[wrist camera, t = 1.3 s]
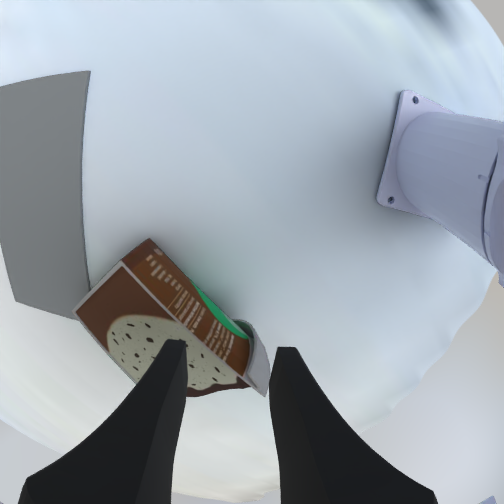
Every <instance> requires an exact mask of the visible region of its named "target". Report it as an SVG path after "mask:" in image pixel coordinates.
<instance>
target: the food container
mask: <svg viewBox="0 0 504 504" xmlns="http://www.w3.org/2000/svg"><path fill="white" fill-rule="evenodd" d="M72 312H73V314H74V315H75V316H76V318H77V319H78V320H79V321H80V323H81V324H82V325H83V326H84V328H85V329H86V330H87V331H88V332H89V334H90V335H91V336H92V337H93V338H94V340H95V341H96V342H97V343H98V344H99V345H100V347H101V348H102V349H103V350H104V351H105V352H106V353H107V354H108V356H109V357H110V358H111V359H112V360H113V361H114V362H115V363H116V364H117V365H118V366H119V367H120V368H121V369H122V370H123V372H124V373H125V374H126V375H127V376H128V377H129V378H130V379H131V380H132V381H133V382H134V383H135V384H137V383H138V382H139V380H140V379H141V378H142V376H143V375H144V373H145V372H146V371H147V369H148V368H149V366H150V365H151V363H152V362H153V360H154V359H155V357H156V356H157V354H158V353H159V351H160V349H161V348H162V346H163V344H164V342H165V341H166V340H167V339H174V340H184V341H186V352H187V368H188V385H187V394H186V397H199V396H203V395H207V394H210V393H214V392H217V391H222V390H228V389H238V388H240V389H244V388H247V387H252V388H253V389H255V390H256V391H257V392H259V393H260V394H261V395H262V396H264V397H265V396H266V393H267V390H268V386H269V380H270V364H269V360H268V357H267V353H266V350H265V347H264V345H263V344H262V342H261V340H260V338H259V336H258V335H257V333H256V331H255V329H254V328H253V326H252V325H251V324H250V323H248V322H247V321H244V320H240V319H232V320H231V319H230V318H229V317H228V316H227V315H226V314H225V313H224V312H222V311H221V310H220V309H219V308H218V307H217V306H216V305H215V304H214V303H213V302H212V301H211V300H210V299H209V298H208V297H207V296H206V295H205V294H204V293H203V292H202V291H201V290H200V289H199V288H198V287H197V286H196V285H195V284H194V283H193V282H192V281H191V280H190V279H189V278H188V277H187V276H186V275H185V274H184V273H183V272H182V271H181V270H180V269H179V268H178V267H177V266H176V265H175V264H174V263H173V262H172V261H171V260H170V259H169V258H168V257H167V256H166V255H165V254H164V253H163V252H162V250H161V249H160V248H159V247H158V246H157V245H156V244H155V243H154V242H153V241H152V240H151V239H150V238H149V239H147V240H145V241H144V242H143V243H141V244H140V245H139V246H137V247H136V248H135V249H134V250H132V251H131V252H130V253H129V254H127V255H126V256H125V257H124V258H122V259H121V260H120V261H119V262H118V263H117V264H116V265H115V266H114V267H113V268H112V269H111V270H110V271H109V272H108V273H107V274H106V275H105V276H104V277H103V278H102V279H101V280H100V281H99V282H98V283H97V284H96V285H95V286H94V287H93V288H92V290H91V291H90V292H89V293H88V294H87V295H86V296H85V297H84V298H83V299H82V300H81V301H80V302H79V303H78V305H77V306H76V307H75V308H74V309H73V310H72Z"/></svg>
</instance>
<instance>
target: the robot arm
mask: <svg viewBox="0 0 504 504" xmlns="http://www.w3.org/2000/svg"><path fill="white" fill-rule="evenodd" d="M413 97H414V98H415V99H416V102H415V104H414V103H413V101H412V98H413ZM389 197H392V200H391V201H390V202H388V199H389ZM376 199H377V202H378V203H379V204H381V205H382V206H386V207H390V208H394V209H398V210H401V211H405V212H409V213H412V214H416V215H419V216H423V217H426V218H430V219H433V220H435V221H436V222H438V223H439V224H440V225H442V226H443V227H445V228H446V229H447V230H449V231H450V232H451V233H453V234H454V235H455V236H457V237H458V238H459V239H460V240H462V241H463V242H464V243H466V244H467V245H468V246H469V247H471V248H472V249H473V250H474V251H476V252H477V253H478V254H479V255H480V256H482V257H483V258H484V259H485V260H486V261H488V262H489V263H490V264H491V265H492V266H494V267H495V268H496V270H497V271H498V274H499V284H500V285H502V286H503V288H504V122H501V121H496V120H491V119H485V118H479V117H473V116H466V115H459V114H455V113H453V112H452V111H450V110H448V109H446V108H444V107H443V106H441V105H439V104H437V103H435V102H433V101H431V100H429V99H427V98H425V97H423V96H421V95H419V94H417V93H415V92H413V91H410V90H404V91H402V92H401V95H400V100H399V105H398V111H397V116H396V120H395V125H394V130H393V134H392V139H391V143H390V147H389V151H388V155H387V159H386V163H385V167H384V171H383V175H382V178H381V182H380V186H379V189H378V193H377V197H376ZM187 385H188V368H187V352H186V341H184V340H174V339H167V340H166V341H165V342H164V344H163V346H162V348H161V349H160V351H159V353H158V354H157V356H156V357H155V359H154V360H153V362H152V363H151V365H150V366H149V368H148V369H147V371H146V372H145V373H144V375H143V376H142V378H141V379H140V380H139V382H138V383H137V384H136V386H135V387H134V388H133V390H132V391H131V392H130V393H129V394H128V396H127V397H126V398H125V399H124V400H123V402H122V403H121V404H120V405H119V406H118V407H117V409H116V410H115V411H114V412H113V413H112V414H111V415H110V416H109V417H108V418H107V419H106V420H105V421H104V422H103V423H102V424H101V425H100V426H99V427H98V428H97V429H96V430H95V431H94V432H93V433H91V434H90V435H89V436H88V437H87V438H86V439H85V440H83V441H82V442H81V443H80V444H79V445H77V446H76V447H75V448H73V449H72V450H71V451H69V452H68V453H66V454H65V455H64V456H62V457H61V458H60V459H58V460H57V461H55V462H54V463H52V464H50V465H49V466H47V467H45V468H44V469H42V470H40V471H38V472H37V473H35V474H33V475H31V476H29V477H28V478H27V479H26V482H25V484H24V486H23V488H22V491H21V494H20V498H19V502H18V504H171V489H172V474H173V463H174V456H175V451H176V446H177V441H178V436H179V432H180V427H181V422H182V418H183V413H184V408H185V403H186V394H187ZM269 401H270V412H271V419H272V425H273V431H274V437H275V443H276V449H277V454H278V461H279V469H280V489H281V504H438V502H437V499H436V497H435V494H434V492H433V491H432V490H430V489H428V488H426V487H424V486H423V485H421V484H419V483H417V482H416V481H414V480H412V479H411V478H409V477H408V476H406V475H405V474H403V473H402V472H400V471H399V470H397V469H396V468H395V467H393V466H392V465H391V464H390V463H388V462H387V461H386V460H385V459H384V458H382V457H381V456H380V455H379V454H377V453H376V452H375V451H374V450H373V449H371V448H370V446H368V445H367V444H366V443H365V442H364V441H363V440H362V439H361V438H360V437H359V436H358V435H357V433H356V432H355V431H354V430H353V429H352V428H351V427H350V426H349V425H348V424H347V422H346V421H345V420H344V419H343V418H342V416H341V415H340V414H339V413H338V411H337V410H336V409H335V408H334V406H333V405H332V404H331V402H330V401H329V399H328V398H327V397H326V395H325V394H324V392H323V391H322V389H321V388H320V386H319V385H318V383H317V382H316V380H315V379H314V377H313V376H312V374H311V372H310V371H309V369H308V367H307V366H306V364H305V362H304V360H303V359H302V357H301V355H300V353H299V351H298V350H297V349H296V347H278V348H277V352H276V356H275V360H274V364H273V368H272V372H271V376H270V380H269ZM0 504H3V503H1V502H0ZM479 504H496V501H495V498H494V496H491V497H489V498H488V499H486V500H484V501H482V502H481V503H479Z"/></svg>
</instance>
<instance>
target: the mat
mask: <svg viewBox="0 0 504 504" xmlns="http://www.w3.org/2000/svg"><path fill="white" fill-rule="evenodd" d="M90 72H91V71H81V72H72V73H65V74H58V75H52V76H46V77H41V78H35V79H31V80H26V81H21V82H17V83H13V84H9V85H5V86H1V87H0V243H1V248H2V252H3V257H4V261H5V265H6V270H7V273H8V277H9V281H10V284H11V288H12V291H13V295H14V298H15V301H16V302H19V303H22V304H25V305H28V306H31V307H34V308H37V309H40V310H44V311H47V312H50V313H53V314H57V315H60V316H64V317H67V318H71V319H74V320H78V319H77V318H76V316H75V315H74V314H73V312H72V310H73V309H74V308H75V307H76V306H77V305H78V303H79V302H80V301H81V300H82V299H83V298H84V297H85V296H86V295H87V294H88V293H89V292H90V284H89V277H88V270H87V262H86V252H85V242H84V230H83V213H82V147H83V130H84V118H85V108H86V99H87V92H88V85H89V78H90ZM78 321H79V320H78Z"/></svg>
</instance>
